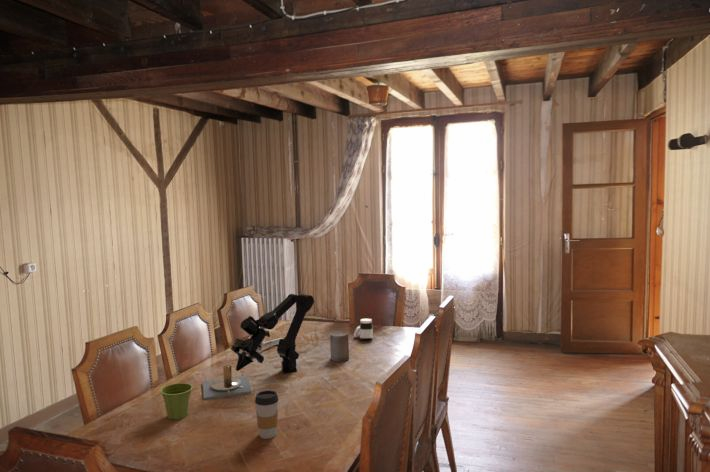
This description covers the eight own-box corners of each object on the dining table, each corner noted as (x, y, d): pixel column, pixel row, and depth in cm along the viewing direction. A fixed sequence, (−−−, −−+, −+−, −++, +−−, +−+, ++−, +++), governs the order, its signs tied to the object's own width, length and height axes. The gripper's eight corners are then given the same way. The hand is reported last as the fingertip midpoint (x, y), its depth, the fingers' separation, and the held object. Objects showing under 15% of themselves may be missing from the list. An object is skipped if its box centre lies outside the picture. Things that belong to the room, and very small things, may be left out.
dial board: (246, 377, 231) (246, 374, 231) (251, 393, 213) (251, 389, 212) (202, 383, 225) (202, 380, 225) (203, 400, 206) (203, 396, 206)
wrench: (284, 347, 287) (251, 356, 260) (281, 346, 288) (249, 356, 261) (284, 333, 287) (252, 341, 260) (282, 333, 288) (249, 341, 261)
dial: (209, 383, 222) (208, 361, 221) (238, 378, 227) (237, 356, 226) (213, 393, 210) (212, 370, 209) (243, 387, 215) (242, 365, 215)
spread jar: (373, 341, 285) (372, 321, 285) (353, 341, 286) (353, 322, 285) (372, 335, 297) (372, 316, 296) (354, 335, 298) (353, 317, 297)
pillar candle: (350, 356, 260) (349, 328, 259) (347, 362, 250) (347, 333, 249) (332, 356, 261) (331, 328, 260) (329, 362, 251) (328, 333, 250)
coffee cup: (257, 429, 179) (256, 390, 178) (280, 428, 180) (279, 389, 178) (254, 441, 171) (253, 399, 169) (278, 439, 171) (277, 398, 170)
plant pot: (175, 425, 184) (173, 396, 183) (155, 418, 190) (153, 390, 189) (200, 413, 194) (199, 386, 193) (180, 407, 200) (179, 380, 199)
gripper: (233, 327, 226) (213, 357, 219) (257, 334, 213) (237, 366, 206) (248, 339, 232) (229, 369, 225) (272, 347, 220) (253, 378, 213)
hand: (236, 370), depth 217 cm, fingers closed
